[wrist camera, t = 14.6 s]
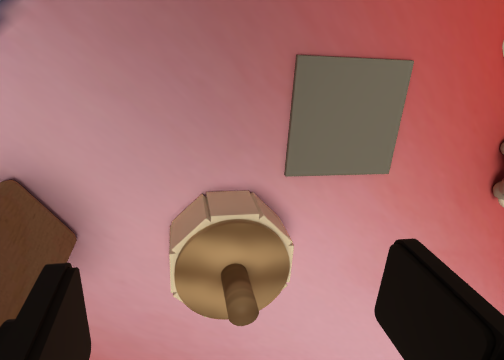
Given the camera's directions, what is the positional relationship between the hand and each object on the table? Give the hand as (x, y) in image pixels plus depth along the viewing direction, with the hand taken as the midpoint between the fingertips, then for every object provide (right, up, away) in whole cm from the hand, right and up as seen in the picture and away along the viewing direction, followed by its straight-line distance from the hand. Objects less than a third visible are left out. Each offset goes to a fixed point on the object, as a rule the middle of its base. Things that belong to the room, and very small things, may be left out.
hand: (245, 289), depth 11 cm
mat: (+11, +11, +32) cm, 35 cm away
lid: (-2, -7, +30) cm, 30 cm away
